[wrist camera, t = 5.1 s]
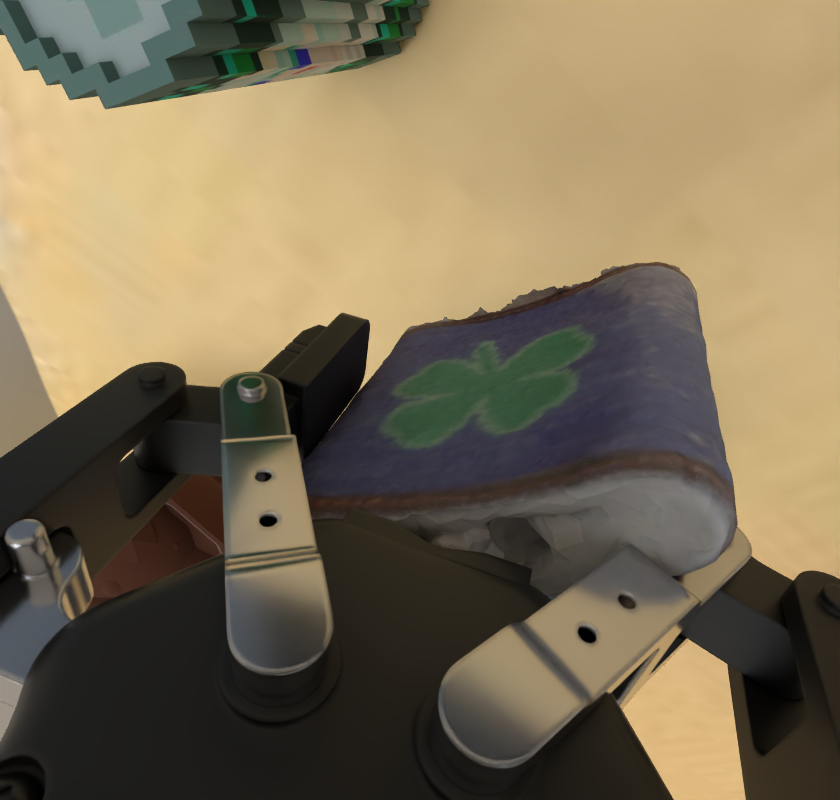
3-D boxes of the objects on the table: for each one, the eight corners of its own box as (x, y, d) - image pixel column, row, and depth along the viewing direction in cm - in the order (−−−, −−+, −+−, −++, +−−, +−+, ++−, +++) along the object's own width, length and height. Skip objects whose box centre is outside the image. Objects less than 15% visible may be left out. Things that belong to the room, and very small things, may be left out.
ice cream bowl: (344, 499, 39) (221, 708, 27) (230, 522, 44) (85, 707, 32) (260, 370, 35) (72, 549, 23) (146, 412, 40) (-56, 576, 28)
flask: (685, 243, 15) (749, 563, 6) (707, 343, 16) (785, 727, 7) (381, 329, 19) (168, 590, 10) (415, 403, 20) (251, 690, 12)
